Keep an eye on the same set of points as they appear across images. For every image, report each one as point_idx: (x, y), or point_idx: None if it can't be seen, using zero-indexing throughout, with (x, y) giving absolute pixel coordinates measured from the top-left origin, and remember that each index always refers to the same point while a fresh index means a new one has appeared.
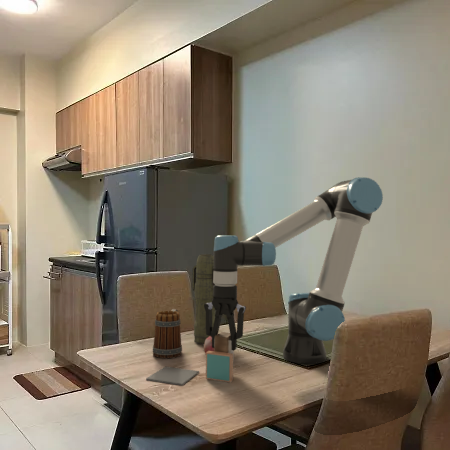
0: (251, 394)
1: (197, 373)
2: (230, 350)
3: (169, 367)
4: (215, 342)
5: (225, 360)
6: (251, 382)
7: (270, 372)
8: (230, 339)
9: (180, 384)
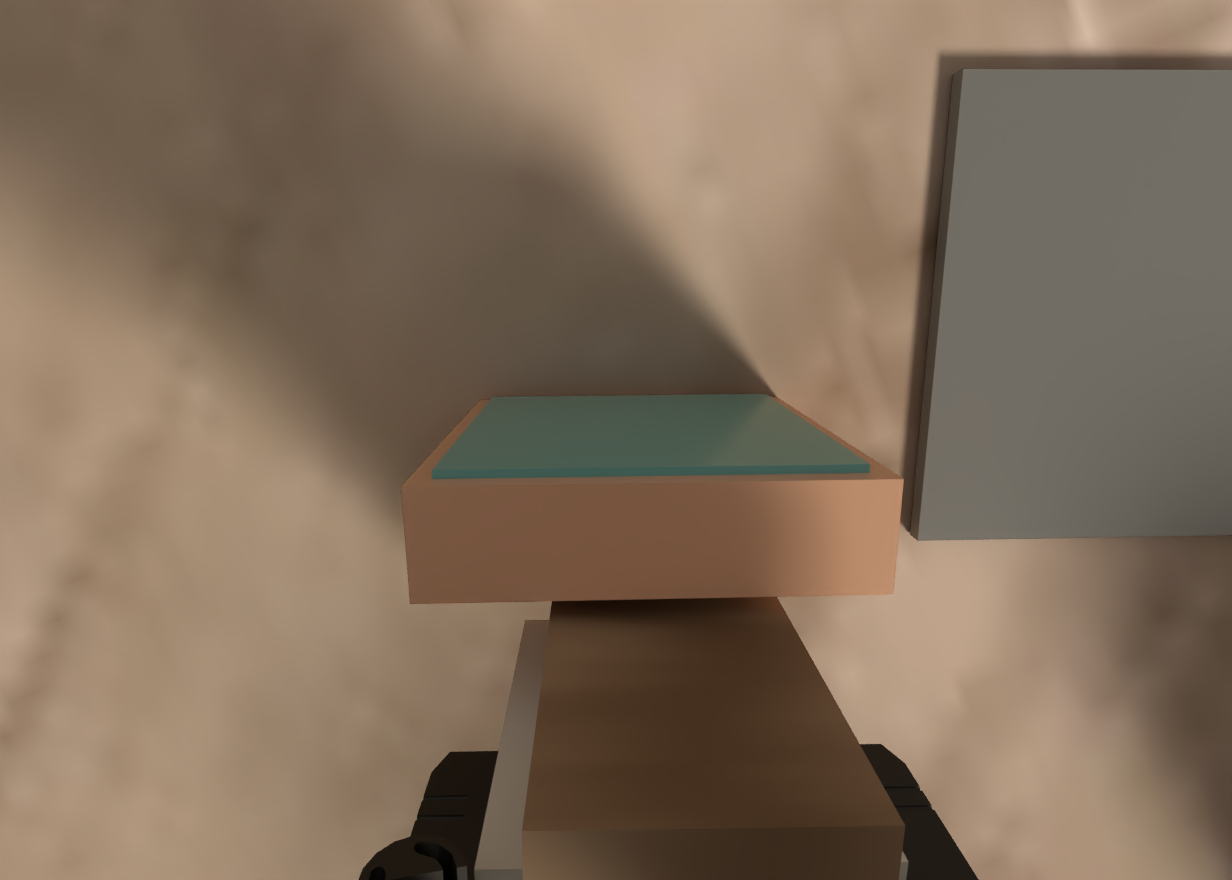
0: (112, 135)
1: (916, 492)
2: (508, 717)
3: None
4: (819, 714)
5: (516, 451)
6: (269, 483)
7: (212, 826)
8: (456, 859)
9: (980, 73)
